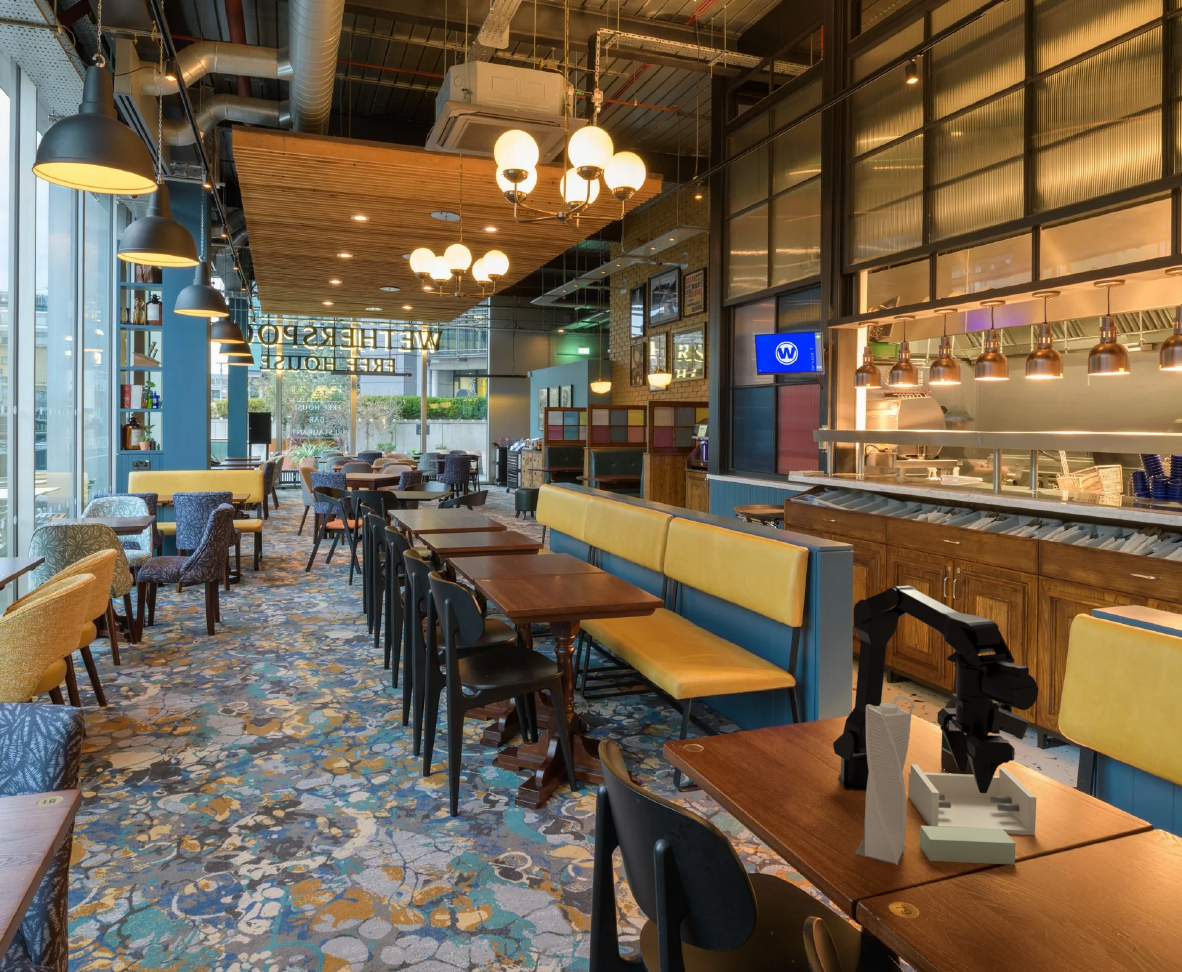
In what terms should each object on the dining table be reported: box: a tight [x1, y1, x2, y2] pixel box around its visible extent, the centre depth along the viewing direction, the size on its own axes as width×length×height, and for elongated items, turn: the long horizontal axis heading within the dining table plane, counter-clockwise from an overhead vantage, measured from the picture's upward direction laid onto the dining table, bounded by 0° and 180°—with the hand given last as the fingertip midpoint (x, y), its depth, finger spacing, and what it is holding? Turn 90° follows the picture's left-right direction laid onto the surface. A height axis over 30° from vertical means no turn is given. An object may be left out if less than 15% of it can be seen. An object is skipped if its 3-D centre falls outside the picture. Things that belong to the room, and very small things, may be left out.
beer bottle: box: [940, 663, 974, 775], centre depth 176 cm, size 8×8×24 cm
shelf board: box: [919, 825, 1017, 865], centre depth 140 cm, size 14×5×4 cm, turn 86°
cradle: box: [907, 763, 1037, 836], centre depth 155 cm, size 18×14×7 cm
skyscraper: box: [855, 695, 915, 866], centre depth 140 cm, size 8×8×28 cm
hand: (972, 781), depth 141 cm, fingers open, 9 cm apart
